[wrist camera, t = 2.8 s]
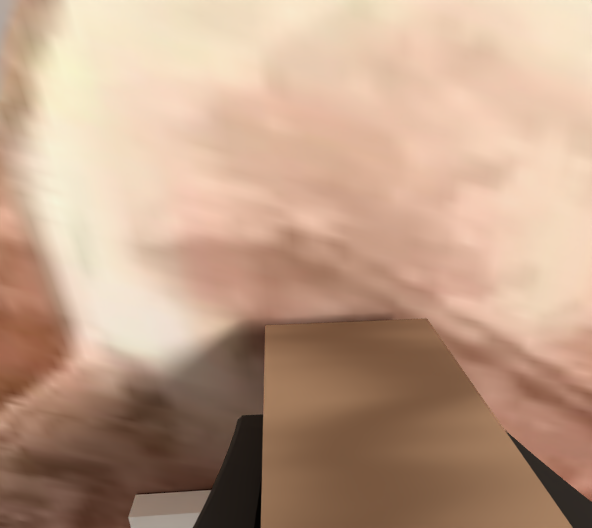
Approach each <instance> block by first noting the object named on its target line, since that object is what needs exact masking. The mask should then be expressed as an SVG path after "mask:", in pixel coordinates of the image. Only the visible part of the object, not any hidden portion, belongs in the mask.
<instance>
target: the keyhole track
mask: <svg viewBox="0 0 592 528" xmlns="http://www.w3.org/2000/svg"><path fill="white" fill-rule="evenodd" d="M210 492H211V490H203V491H188V492H173V493H157V494H142V495H135V498H134V501H133V504H132V507H131V510H130V513H129V516H128V519H129V522H130V526H131V528H193V526H194V524H195V522H196V520H197V518H198V516H199V515H200V513H201V511H202V509H203V507H204V505H205V503H206V500H207V498H208V496H209V494H210Z"/></svg>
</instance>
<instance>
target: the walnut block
mask: <svg viewBox="0 0 592 528" xmlns="http://www.w3.org/2000/svg"><path fill="white" fill-rule="evenodd" d="M261 528H573V527H572V526H571V524H570V523H569V522H568V520H567V519H566V517H565V516H564V514H563V513H562V512H561V510H560V509H559V507H558V506H557V504H556V503H555V502H554V500H553V499H552V497H551V496H550V494H549V493H548V491H547V490H546V489H545V487H544V486H543V484H542V483H541V481H540V480H539V479H538V477H537V476H536V474H535V473H534V471H533V470H532V469H531V467H530V466H529V464H528V463H527V461H526V460H525V459H524V457H523V456H522V454H521V453H520V451H519V450H518V448H517V447H516V446H515V444H514V443H513V441H512V440H511V438H510V437H509V436H508V434H507V433H506V431H505V430H504V428H503V427H502V426H501V424H500V423H499V421H498V420H497V418H496V417H495V415H494V414H493V413H492V411H491V410H490V408H489V407H488V405H487V404H486V403H485V401H484V400H483V398H482V397H481V395H480V394H479V393H478V391H477V390H476V388H475V387H474V385H473V384H472V383H471V381H470V380H469V378H468V377H467V375H466V374H465V372H464V371H463V370H462V368H461V367H460V365H459V364H458V362H457V361H456V360H455V358H454V357H453V355H452V354H451V352H450V351H449V350H448V348H447V347H446V345H445V344H444V342H443V341H442V339H441V338H440V337H439V335H438V334H437V332H436V331H435V329H434V328H433V327H432V325H431V324H430V322H429V321H428V319H404V320H380V321H356V322H332V323H309V324H285V325H265V358H264V403H263V449H262V494H261Z"/></svg>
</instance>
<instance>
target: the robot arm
mask: <svg viewBox="0 0 592 528" xmlns="http://www.w3.org/2000/svg"><path fill="white" fill-rule="evenodd" d="M506 433H507V434H508V436H509V437H510V438H511V440H512V441H513V443H514V444H515V446H516V447H517V448H518V450H519V451H520V453H521V454H522V456H523V457H524V459H525V460H526V461H527V463H528V464H529V466H530V467H531V469H532V470H533V471H534V473H535V474H536V476H537V477H538V479H539V480H540V481H541V483H542V484H543V486H544V487H545V489H546V490H547V491H548V493H549V494H550V496H551V497H552V499H553V500H554V502H555V503H556V504H557V506H558V507H559V509H560V510H561V512H562V513H563V514H564V516H565V517H566V519H567V520H568V522H569V523H570V524H571V526H572V527H573V528H592V502H591V501H590V500H588V499H587V498H586V497H585V496H583V495H582V494H581V493H579V492H578V491H577V490H576V489H574V488H573V487H572V486H571V485H569V484H568V483H567V482H566V481H564V480H563V479H562V478H561V477H560V476H558V475H557V474H556V473H555V472H553V471H552V470H551V469H550V468H549V467H547V466H546V465H545V464H544V463H543V462H541V461H540V460H539V459H538V458H537V457H536V456H534V455H533V454H532V453H531V452H530V451H528V450H527V449H526V448H525V447H524V446H523V445H521V444H520V443H519V442H518V441H517V440H516V439H515V438H513V437H512V436H511V435H510V434H509V433H508V432H506ZM262 449H263V415H245V416H241V417H240V418H239V419H238V421H237V425H236V429H235V432H234V435H233V438H232V441H231V444H230V447H229V449H228V452H227V455H226V457H225V460H224V462H223V465H222V467H221V469H220V472H219V474H218V476H217V478H216V481H215V483H214V485H213V487H212V489H211V492H210V494H209V496H208V498H207V500H206V503H205V505H204V507H203V509H202V511H201V513H200V515H199V516H198V518H197V520H196V522H195V524H194V526H193V528H261V494H262Z"/></svg>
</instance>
